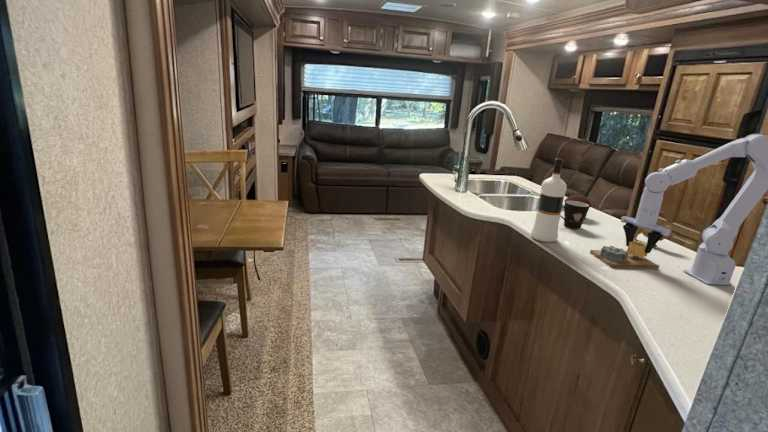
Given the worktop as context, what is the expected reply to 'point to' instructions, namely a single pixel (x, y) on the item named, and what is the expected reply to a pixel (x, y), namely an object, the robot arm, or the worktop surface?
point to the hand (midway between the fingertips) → (637, 249)
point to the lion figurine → (645, 232)
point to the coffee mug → (574, 214)
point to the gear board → (622, 259)
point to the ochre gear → (637, 249)
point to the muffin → (578, 198)
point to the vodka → (550, 206)
